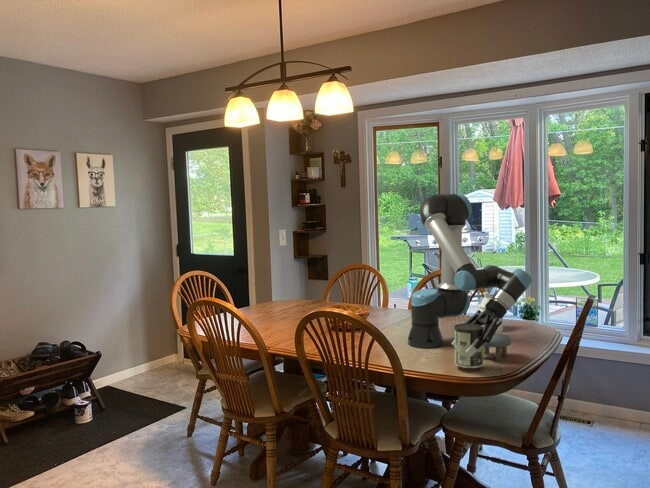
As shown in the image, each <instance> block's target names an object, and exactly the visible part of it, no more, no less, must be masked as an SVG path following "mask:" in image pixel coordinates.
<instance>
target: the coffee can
mask: <svg viewBox="0 0 650 488" xmlns="http://www.w3.org/2000/svg"><path fill="white" fill-rule="evenodd" d="M453 329H454V340H455V347H454V365H455V366H457V367H460V368H463V369H464V368H465V369H477V368H481V367H483V365H484V363H483V360H484V346H483V344H482V345H481V347H480V348H479V349H478V350H477V351H476V352H475V353H474V354H473V356H472V357H471V356H469V355H468V354H467V353H466V350H467V349H468V348H469V347H470V346H471V345H472V343H473V342H474V341H475V340H476V339H477V338H478V337H479V336H480V334H481V332H482V329H483V327H482V326H481V325H477V324H469V323H465V322H464V323H459V324H458V323H457V324H454V326H453ZM478 339H479V338H478Z"/></svg>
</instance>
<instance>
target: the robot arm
mask: <svg viewBox="0 0 650 488" xmlns="http://www.w3.org/2000/svg"><path fill="white" fill-rule="evenodd" d="M472 212H473V209H472V203H471V201H470V200H469V198H468V197H467V196H466V195H464V194H461V193H449V194H448V193H446V194H442V193H441V194H438V193H437V194H432V195H429V196H427V197H426V198H424V200H423V201H422V203H421V204H420V208H419V217H420V221H421V223H422V224H423V226H424V228H425V229H426V230H428V231H429V232H430V233H431V235H432V237H433V238H434V240H435V241H436V243H437V245H438V246H439V248H440V251H441V262H440V263H441V265H440V266H441V268H440V269H441V274H440V275H441V277H440V278H441V280H440V281H441V282H440V283H439V284H438V285H437V288H424V289H419V290H416V291H414V292H413V293H412V295H411V297H410V299H411V301H410V305H411V308H410V309H411V328H410V330H409V333H408V336H407V337H408V338H407V345H409V346H411V347H414V348H419V349H435V348H439V347H442V346H443V345H444V338H443V335H442V332H441V329H440V321H439V320H440V319H445V318H452V317H458V316H462V315H464V314H466V313H467V312H468V310H469V308H470V305H471V298H470V295H469V291H470V292H471V291H474V290H481V289H482V290H483V289H492V288H497V289H498V290H497V291H496V292H495V293H494V294H493V295H491V296H492V299H490V300H489V301H488V303H487V304H486V305H485V308H486V310H485V311H483V312H481V311H480V310H478V309H477V311H476V312H475V313H474V314H473V315H472V316H471V317H470V318H468V320H466V321H465V322H464V323H469V324H477V325H481V326H482V325H484V326H483V329H482V332H481V334H480V336H479V337H478V338H479V339H478V338H477V339H476V340H475V341H474V342H473V343H472V345H471V346H470V347H469V348H468V349H467V350H466V353H467V354H468V355H469V356H471V357H472V356H473V354H474V353H475V352H476V351H477V350H478V349H479V348H480V347H481V345H482V344H483V343H485V342H487V343H489V342H490V341H491V339H492V337H493V335H494V334H495V332H496V330H497V328H498V327H499V326H500V324H501V323H502V321H501V320H500V319H502V318H504V317H505V315H506V314H507V313H508V311H510V309H511V308H512V307H513V306H514V304H515V303H516V302H517V301H518V300H519V298H520V297H521V296H522V295H523V294H524V293H525V292H526V291H527V290H528V288H529V287H530V285H531V284H532V282H533V278H532V277H531V275H530V274H529V273H528V272H527V271H526V270H523V269H522V268H515V270H513V271H512V272H511V271H509V270H506V269H503V268H501V267H500V266H497V265H493V264H488V265H486V266H485V267H483V268H481V269H479V268H478V269H477V268H476V266H475V265H474V264H473V261H472V260H471V259H470V257H469V255H468V254H467V253H466V251H465V249H464V248H463V246H462V245H463V228H464V227H466V225H467V224H466V222H467V220H469V219H470V217H471V216H472ZM496 333H497V332H496ZM451 345H452V346H453V347H454V348H455V339H454V340H453V341H452V342H451Z"/></svg>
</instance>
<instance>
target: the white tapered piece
mask: <svg viewBox="0 0 650 488" xmlns="http://www.w3.org/2000/svg"><path fill="white" fill-rule="evenodd" d="M482 294H483V296H484V297H483V298H482V299H481V302H480V303H479V304H477V307H478V308H477V311H478V310H480V311H481V312H483V311H485V310H486V308H485V305H486V304H487V303H488V301H489V300H490V299H492V296H493V295H491V294H489V292H488V291H484V292H483V293H482ZM503 318H504V317H503ZM503 318H502V319H500V320H501V321H502V323H501V324H500V326H499V327H498V328H497V330H496V332H495V333H501V332H502V331H504V319H503ZM483 326H484V325H482V327H483Z"/></svg>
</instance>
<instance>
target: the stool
mask: <svg viewBox="0 0 650 488" xmlns="http://www.w3.org/2000/svg"><path fill="white" fill-rule="evenodd" d="M511 344H512V337H511V336H510V335H507V334H504V333H499V332H496V333H495V334H494V335H493V337H492V339H491V341H490V342H489V343H487V342H485V343H483V355H490V348H495V362H498V363H499V362H502V358H507V356H508V353H507V352H508V350H507V348H508V347H509V346H511Z"/></svg>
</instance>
